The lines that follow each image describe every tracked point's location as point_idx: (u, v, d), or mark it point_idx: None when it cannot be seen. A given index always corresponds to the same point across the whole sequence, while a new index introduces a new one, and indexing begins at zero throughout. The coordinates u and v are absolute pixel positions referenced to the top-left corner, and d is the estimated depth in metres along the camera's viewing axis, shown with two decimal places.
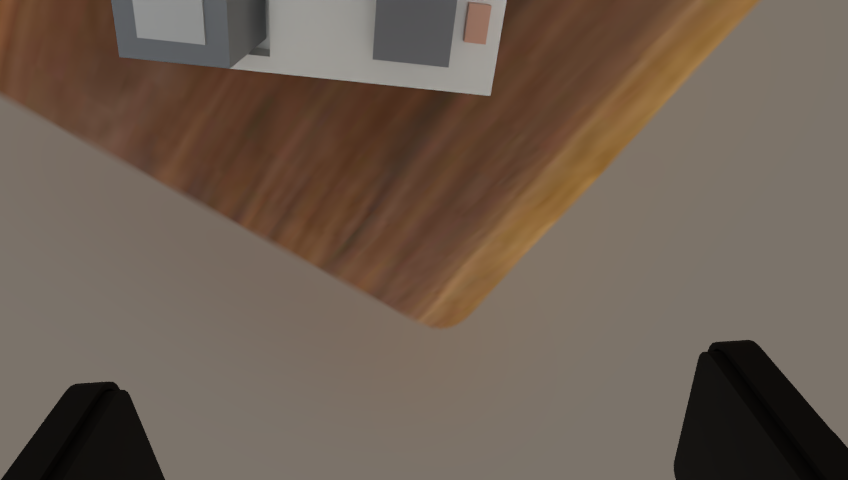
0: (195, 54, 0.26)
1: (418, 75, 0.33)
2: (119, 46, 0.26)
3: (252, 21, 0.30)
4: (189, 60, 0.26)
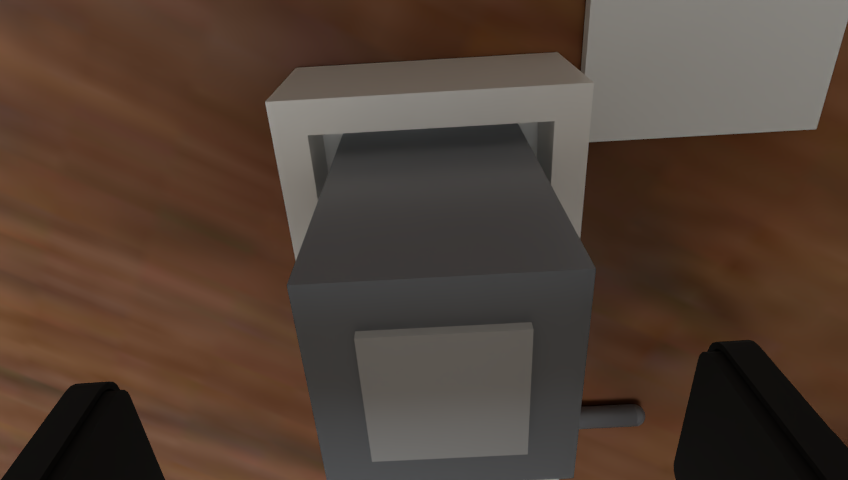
0: (342, 435, 0.11)
1: None
2: (315, 279, 0.09)
3: None
4: (324, 424, 0.11)
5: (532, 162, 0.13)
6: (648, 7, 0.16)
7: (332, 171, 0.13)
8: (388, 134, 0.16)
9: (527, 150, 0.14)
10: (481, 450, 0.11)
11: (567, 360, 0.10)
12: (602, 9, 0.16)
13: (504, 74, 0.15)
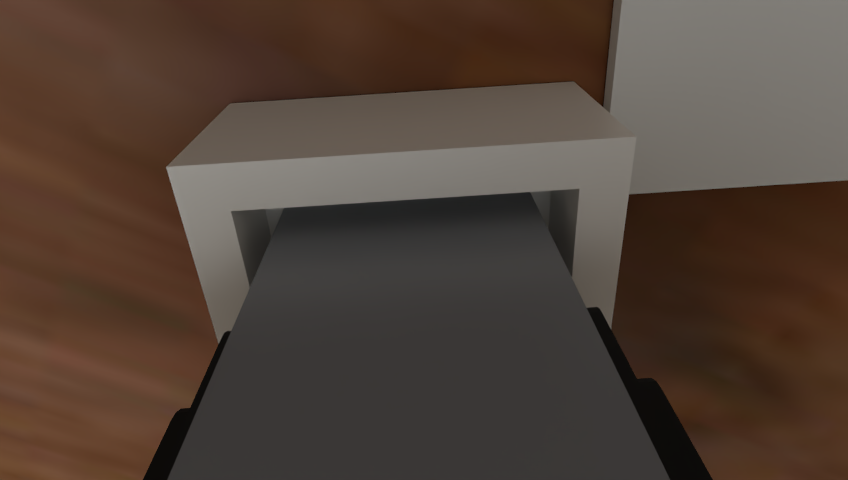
0: None
1: None
2: None
3: None
4: None
5: (551, 254, 0.09)
6: (696, 24, 0.12)
7: (263, 268, 0.09)
8: None
9: (541, 230, 0.10)
10: None
11: None
12: (635, 27, 0.12)
13: (507, 119, 0.11)
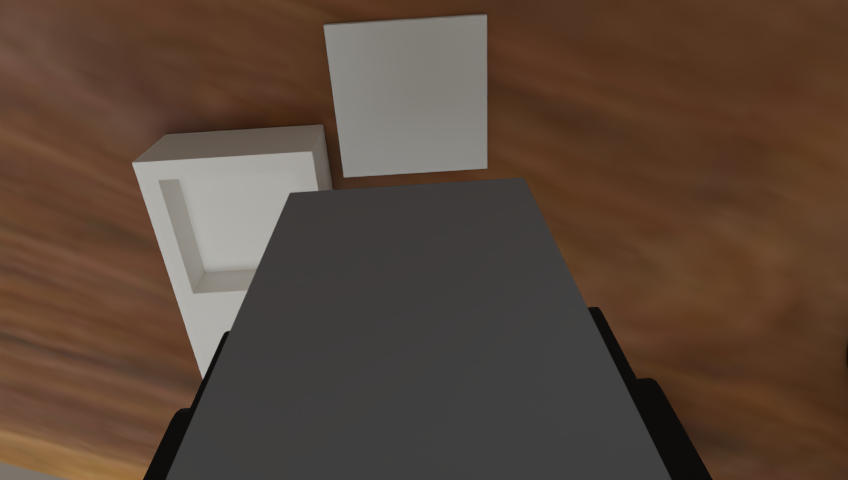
0: None
1: None
2: None
3: None
4: None
5: (551, 253, 0.09)
6: (367, 100, 0.27)
7: (262, 266, 0.09)
8: (350, 197, 0.12)
9: (542, 229, 0.10)
10: None
11: None
12: (340, 102, 0.27)
13: (274, 143, 0.26)
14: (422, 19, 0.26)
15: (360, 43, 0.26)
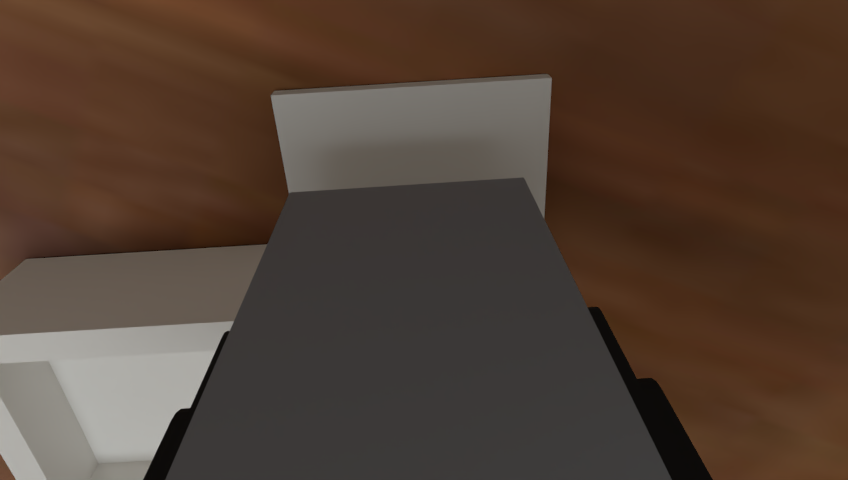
0: None
1: None
2: None
3: None
4: None
5: (551, 253, 0.09)
6: None
7: (262, 266, 0.09)
8: (349, 196, 0.12)
9: (542, 229, 0.10)
10: None
11: None
12: None
13: (187, 293, 0.15)
14: (440, 84, 0.15)
15: (334, 124, 0.15)
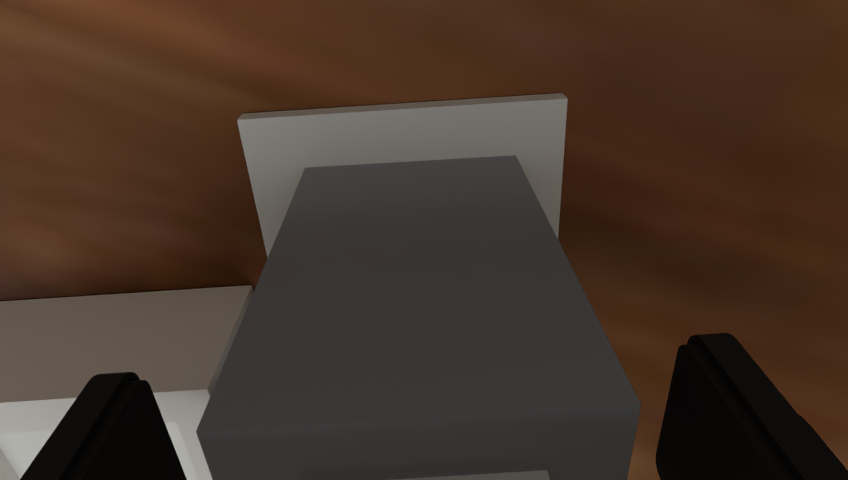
0: None
1: None
2: (238, 420, 0.06)
3: None
4: None
5: (537, 215, 0.10)
6: None
7: (285, 226, 0.11)
8: (359, 171, 0.13)
9: (530, 196, 0.11)
10: None
11: None
12: None
13: (141, 351, 0.13)
14: (437, 106, 0.13)
15: (313, 152, 0.13)
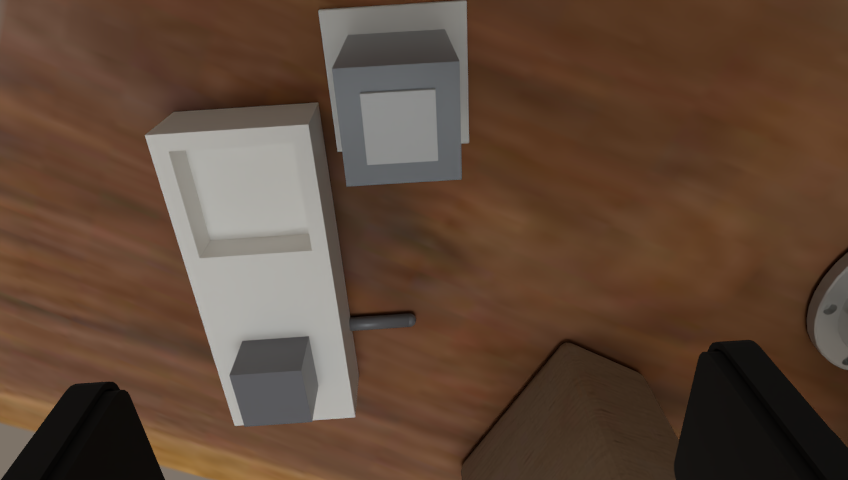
0: (353, 152, 0.24)
1: None
2: (343, 67, 0.22)
3: None
4: (345, 145, 0.23)
5: (446, 40, 0.26)
6: None
7: (344, 45, 0.26)
8: (373, 34, 0.28)
9: (445, 37, 0.27)
10: (417, 158, 0.24)
11: (452, 109, 0.23)
12: None
13: (273, 118, 0.29)
14: (408, 5, 0.28)
15: (351, 27, 0.29)
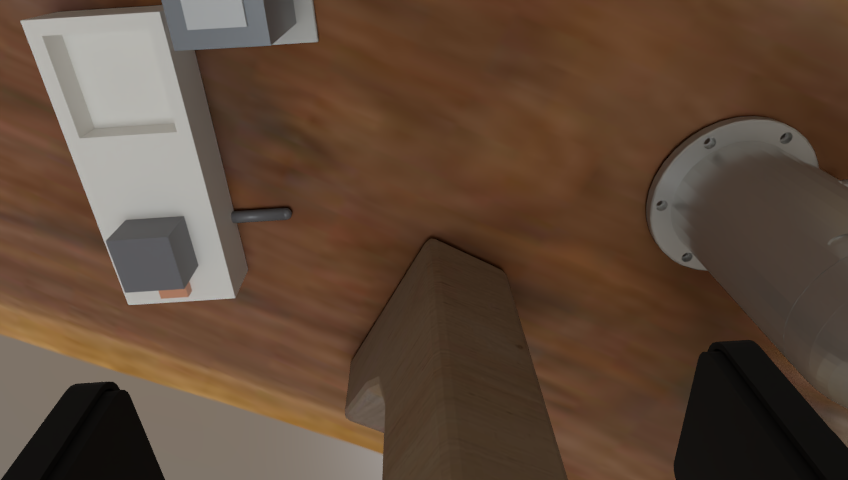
0: (175, 18, 0.28)
1: None
2: None
3: None
4: (168, 12, 0.28)
5: None
6: None
7: None
8: None
9: None
10: (228, 24, 0.28)
11: None
12: None
13: (135, 10, 0.33)
14: None
15: None
